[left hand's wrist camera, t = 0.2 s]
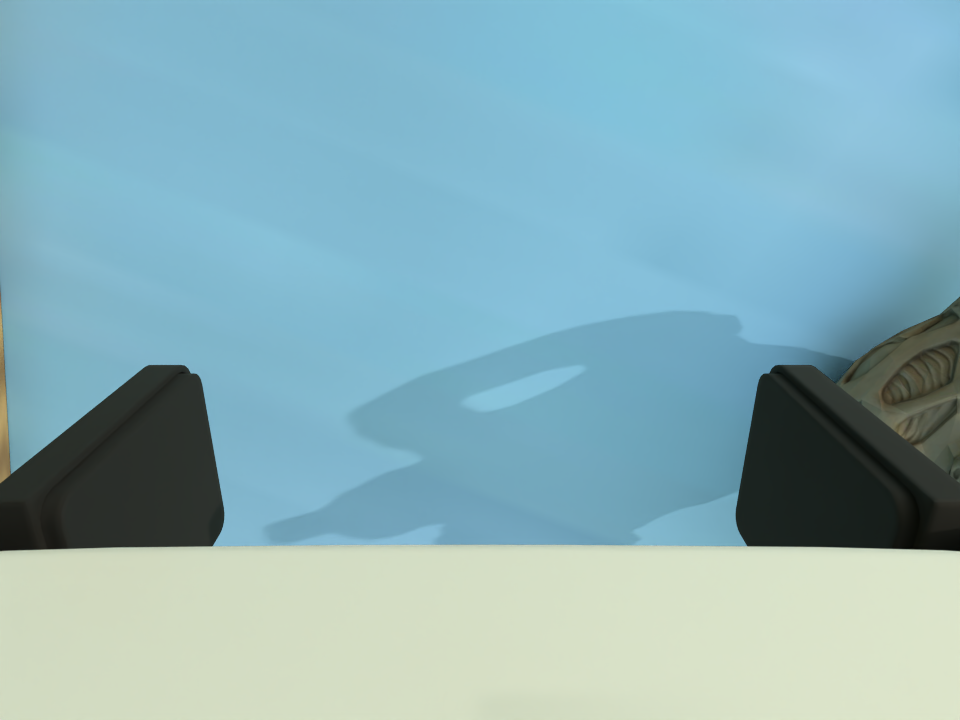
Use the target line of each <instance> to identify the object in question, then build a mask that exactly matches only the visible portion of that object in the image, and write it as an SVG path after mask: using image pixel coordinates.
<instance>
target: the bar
mask: <svg viewBox="0 0 960 720" xmlns="http://www.w3.org/2000/svg"><path fill="white" fill-rule="evenodd" d="M10 475H11V474H10V456H9V438H8V420H7V402H6V384H5V366H4V348H3V330H2V312H1V294H0V483H1V482H2V481H4V480H5V479H6V478H7V477H9V476H10Z"/></svg>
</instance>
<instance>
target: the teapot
mask: <svg viewBox="0 0 960 720" xmlns="http://www.w3.org/2000/svg"><path fill="white" fill-rule="evenodd" d="M836 384H837V385H838V386H839V387H841V388H842V389H843V390H844V391H845V392H847V393H848V394H849V395H850V396H852V397H853V398H854V399H855V400H857V401H858V402H859V403H860V404H862V405H863V406H864V407H865V408H867V409H868V410H869V411H870V412H872V413H873V414H874V415H875V416H877V417H878V418H879V419H880V420H882V421H883V422H884V423H885V424H887V425H888V426H889V427H890V428H892V429H893V430H894V431H895V432H897V433H898V434H899V435H900V436H902V437H903V438H904V439H905V440H907V441H908V442H909V443H910V444H912V445H913V446H914V447H915V448H917V449H918V450H919V451H920V452H922V453H923V454H924V455H925V456H926V457H928V458H929V459H930V460H931V461H933V462H934V463H935V464H936V465H938V466H939V467H940V468H941V469H943V470H944V471H945V472H946V473H948V474H949V475H950V476H951V477H953V478H954V479H955V480H956V481H958V482H959V483H960V297H959V298H958V299H957V300H956V301H955V302H953V303H952V304H951V305H950V306H949V307H948V308H947V309H946V310H944V311H943V312H942V313H941V314H940V315H938V316H935V317H933V318H931V319H928V320H926V321H924V322H922V323H919V324H917V325H915V326H912V327H910V328H908V329H905V330H903V331H901V332H899V333H898V334H896V335H894V336H893V337H891V338H889V339H888V340H886V341H884V342H883V343H881V344H879V345H877V346H876V347H874V348H872V349H871V350H870V351H869V352H868V353H866V354H865V355H864V356H862V357H861V358H859V359H858V360H856V361H855V362H854V363H853V365H852V366H851V367H850V368H849V369H848V370H847V371H846V373H845V374H844V375H843V376H842V377H841V378H840V380H839V381H838V382H837V383H836Z"/></svg>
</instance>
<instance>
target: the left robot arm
mask: <svg viewBox="0 0 960 720" xmlns="http://www.w3.org/2000/svg"><path fill="white" fill-rule="evenodd" d="M223 523H224V507H223V501H222V495H221V490H220V484H219V478H218V473H217V467H216V461H215V455H214V450H213V444H212V438H211V433H210V427H209V421H208V415H207V410H206V404H205V398H204V393H203V387H202V382H201V379H200V377H199V376H198V375H197V374H191V373H190V371H189V369H188V368H187V367H186V366H184V365H148V366H146V367H144V368H143V369H142V370H141V371H139V372H138V373H137V374H136V375H134V376H133V377H132V378H131V379H129V380H128V381H127V382H126V383H124V384H123V385H122V386H121V387H119V388H118V389H117V390H116V391H115V392H113V393H112V394H111V395H110V396H108V397H107V398H106V399H105V400H103V401H102V402H101V403H100V404H98V405H97V406H96V407H95V408H93V409H92V410H91V411H90V412H88V413H87V414H86V415H85V416H83V417H82V418H81V419H80V420H78V421H77V422H76V423H75V424H73V425H72V426H71V427H70V428H68V429H67V430H66V431H65V432H63V433H62V434H61V435H60V436H58V437H57V438H56V439H55V440H53V441H52V442H51V443H50V444H48V445H47V446H46V447H45V448H43V449H42V450H41V451H40V452H38V453H37V454H36V455H35V456H34V457H32V458H31V459H30V460H29V461H27V462H26V463H25V464H24V465H22V466H21V467H20V468H19V469H17V470H16V471H15V472H14V473H12V474H11V475H10V476H9V477H7V478H6V479H5V480H4V481H2V482H1V483H0V720H960V483H959V482H958V481H956V480H955V479H954V478H953V477H951V476H950V475H949V474H948V473H946V472H945V471H944V470H943V469H941V468H940V467H939V466H938V465H936V464H935V463H934V462H933V461H931V460H930V459H929V458H928V457H926V456H925V455H924V454H923V453H922V452H920V451H919V450H918V449H917V448H915V447H914V446H913V445H912V444H910V443H909V442H908V441H907V440H905V439H904V438H903V437H902V436H900V435H899V434H898V433H897V432H895V431H894V430H893V429H892V428H890V427H889V426H888V425H887V424H885V423H884V422H883V421H882V420H880V419H879V418H878V417H877V416H875V415H874V414H873V413H872V412H870V411H869V410H868V409H867V408H865V407H864V406H863V405H862V404H860V403H859V402H858V401H857V400H855V399H854V398H853V397H852V396H850V395H849V394H848V393H847V392H845V391H844V390H843V389H842V388H841V387H839V386H838V385H837V384H836V383H834V382H833V381H832V380H831V379H829V378H828V377H827V376H826V375H824V374H823V373H822V372H821V371H819V370H818V369H817V368H816V367H814V366H812V365H776V366H774V367H773V368H772V369H771V371H770V373H769V374H763V375H762V376H761V377H760V379H759V382H758V387H757V393H756V398H755V404H754V410H753V415H752V421H751V427H750V433H749V438H748V444H747V450H746V455H745V461H744V467H743V473H742V478H741V484H740V490H739V495H738V501H737V507H736V523H737V527H738V530H739V532H740V534H741V536H742V538H743V539H744V541H745V543H746V544H747V546H629V545H310V546H215V547H212V546H213V544H214V543H215V541H216V539H217V538H218V536H219V534H220V532H221V530H222V527H223Z"/></svg>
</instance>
